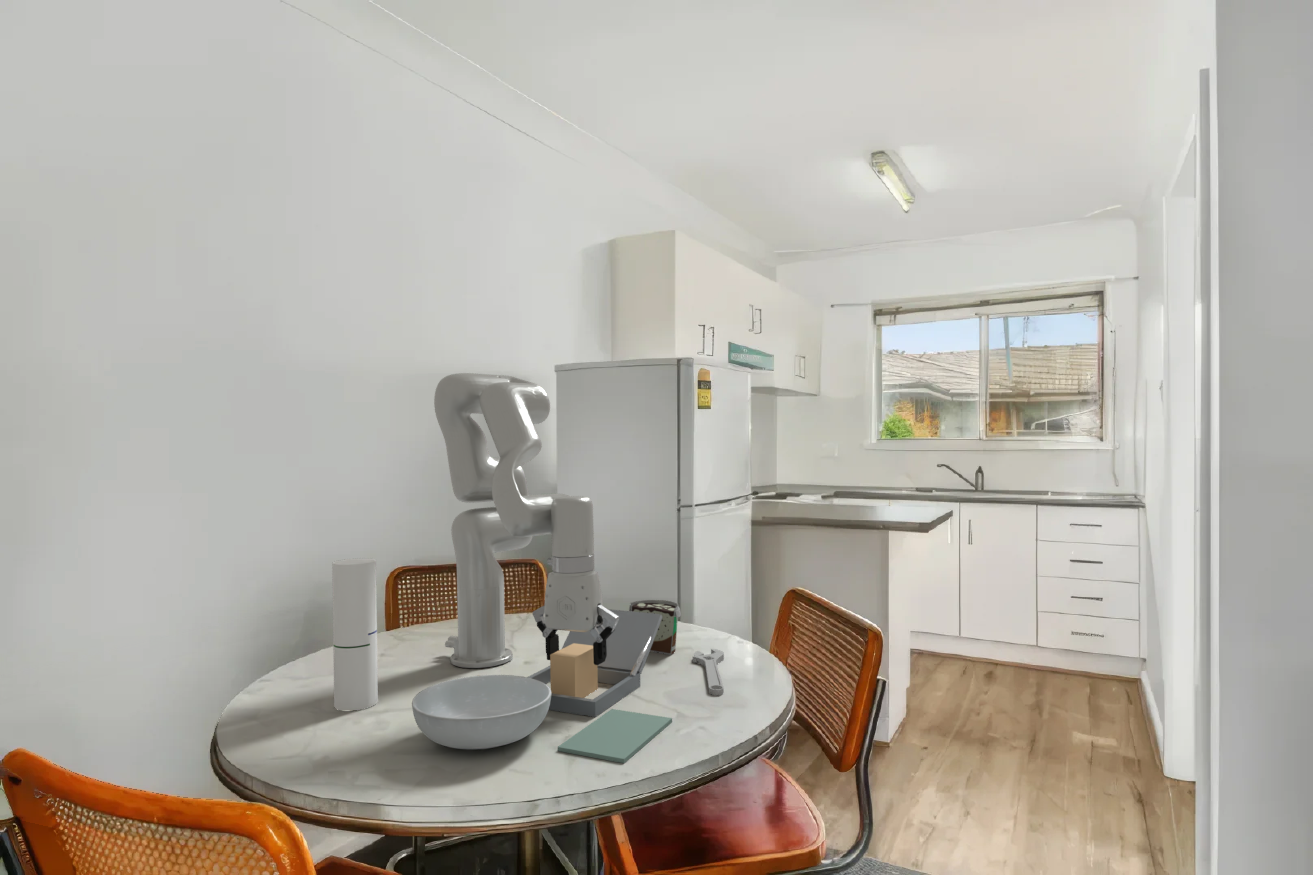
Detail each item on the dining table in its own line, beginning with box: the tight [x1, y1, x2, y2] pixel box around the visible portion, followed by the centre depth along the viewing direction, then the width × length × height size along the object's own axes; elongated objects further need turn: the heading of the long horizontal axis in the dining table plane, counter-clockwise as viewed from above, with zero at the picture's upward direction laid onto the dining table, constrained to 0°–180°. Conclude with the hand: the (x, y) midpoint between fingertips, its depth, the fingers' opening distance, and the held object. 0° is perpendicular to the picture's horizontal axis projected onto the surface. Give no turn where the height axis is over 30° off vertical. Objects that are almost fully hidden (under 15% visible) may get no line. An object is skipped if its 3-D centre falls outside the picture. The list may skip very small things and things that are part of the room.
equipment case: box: [527, 608, 662, 718], centre depth 142 cm, size 18×27×11 cm, turn 155°
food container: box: [628, 599, 682, 656], centre depth 166 cm, size 12×6×10 cm, turn 58°
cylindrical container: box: [331, 557, 379, 711], centre depth 134 cm, size 7×7×25 cm
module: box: [549, 643, 599, 698], centre depth 137 cm, size 5×8×8 cm, turn 155°
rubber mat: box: [557, 708, 673, 764], centre depth 118 cm, size 11×17×1 cm, turn 155°
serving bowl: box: [411, 674, 551, 750], centre depth 118 cm, size 21×21×7 cm
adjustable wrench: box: [692, 648, 725, 696], centre depth 148 cm, size 25×6×2 cm, turn 175°
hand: (576, 660), depth 137 cm, fingers open, 9 cm apart
